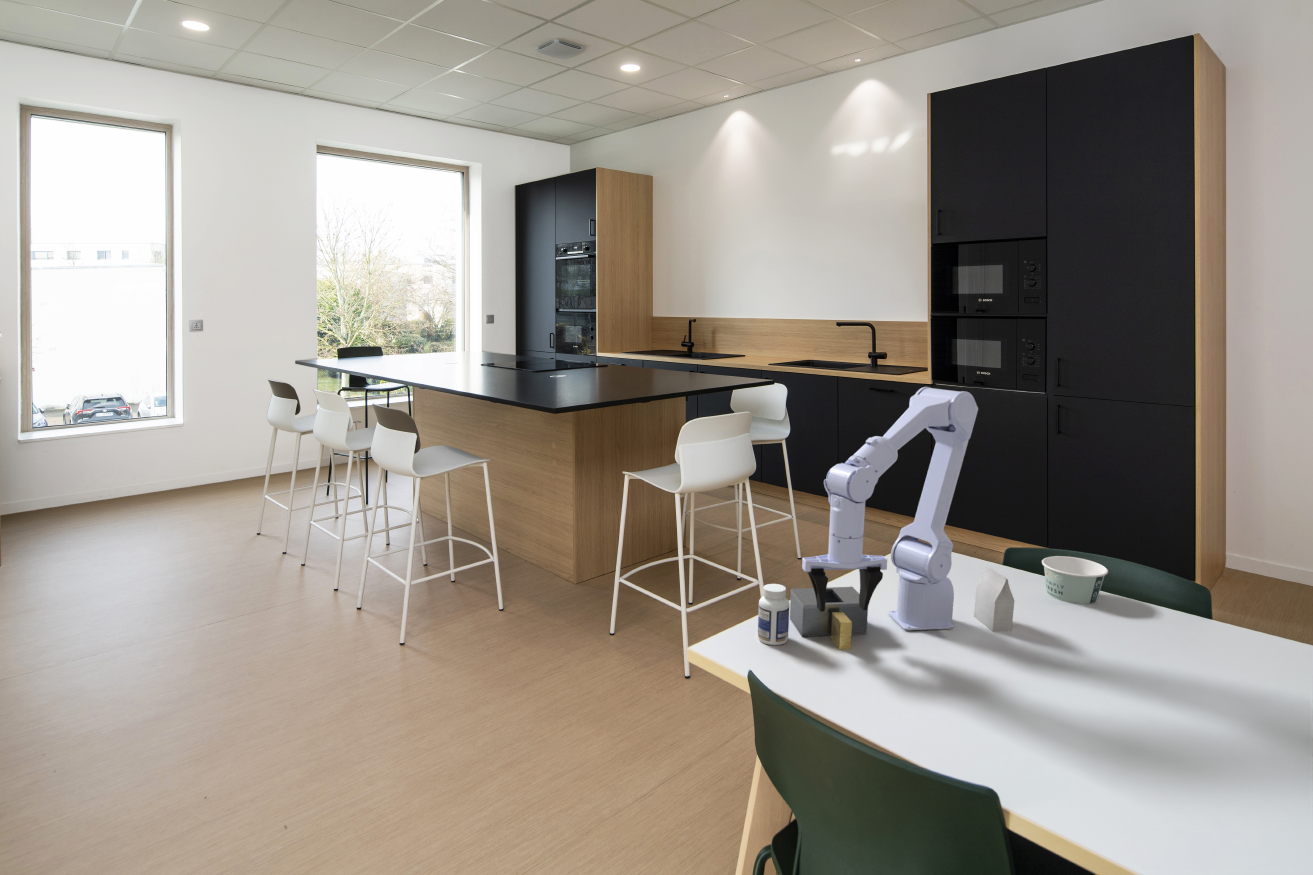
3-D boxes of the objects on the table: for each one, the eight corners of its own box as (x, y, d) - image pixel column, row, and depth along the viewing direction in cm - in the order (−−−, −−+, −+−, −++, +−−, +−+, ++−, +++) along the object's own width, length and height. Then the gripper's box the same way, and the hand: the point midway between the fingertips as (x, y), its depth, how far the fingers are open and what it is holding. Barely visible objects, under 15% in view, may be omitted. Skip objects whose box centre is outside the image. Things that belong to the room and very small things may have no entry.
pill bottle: (787, 633, 138) (789, 582, 136) (789, 646, 132) (791, 593, 131) (757, 632, 138) (758, 581, 137) (757, 645, 133) (759, 592, 131)
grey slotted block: (850, 616, 145) (852, 586, 144) (866, 634, 138) (868, 602, 137) (789, 618, 144) (790, 588, 143) (802, 636, 136) (803, 605, 135)
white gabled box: (992, 631, 139) (997, 579, 137) (973, 616, 146) (978, 567, 144) (1011, 630, 140) (1016, 579, 138) (992, 616, 146) (996, 566, 144)
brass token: (841, 638, 136) (842, 611, 135) (850, 649, 132) (851, 622, 131) (830, 638, 136) (832, 612, 135) (839, 649, 131) (840, 622, 131)
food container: (1025, 590, 160) (1028, 560, 159) (1065, 581, 165) (1068, 552, 164) (1078, 610, 149) (1081, 579, 148) (1118, 601, 154) (1121, 570, 153)
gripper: (877, 526, 135) (873, 598, 137) (798, 527, 133) (795, 601, 136) (894, 538, 128) (889, 614, 130) (810, 540, 127) (806, 616, 129)
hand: (842, 608), depth 133 cm, fingers open, 7 cm apart
